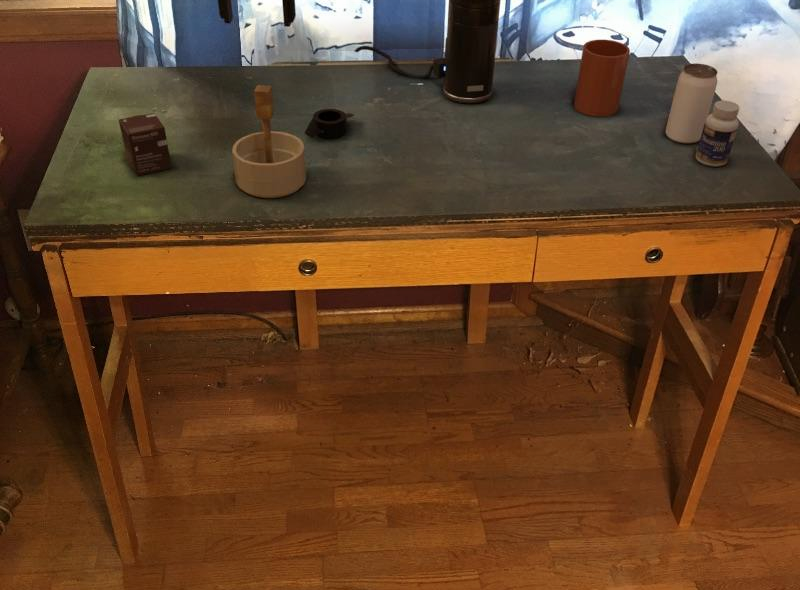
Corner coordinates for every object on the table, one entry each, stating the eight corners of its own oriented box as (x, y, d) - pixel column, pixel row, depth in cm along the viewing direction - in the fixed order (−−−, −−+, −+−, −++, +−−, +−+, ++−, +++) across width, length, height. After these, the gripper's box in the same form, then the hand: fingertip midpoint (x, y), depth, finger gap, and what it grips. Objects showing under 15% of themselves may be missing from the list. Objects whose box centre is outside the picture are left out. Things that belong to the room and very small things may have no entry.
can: (702, 146, 151) (721, 79, 143) (665, 142, 152) (681, 75, 143) (700, 130, 156) (718, 64, 147) (664, 126, 156) (680, 60, 148)
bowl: (228, 172, 141) (224, 138, 137) (293, 160, 145) (290, 126, 140) (248, 205, 134) (244, 170, 130) (315, 191, 137) (314, 157, 133)
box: (136, 176, 140) (127, 134, 134) (126, 160, 143) (117, 118, 138) (172, 168, 142) (165, 126, 137) (162, 153, 146) (154, 111, 140)
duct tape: (298, 125, 154) (297, 109, 152) (352, 119, 156) (352, 103, 154) (306, 144, 149) (305, 129, 147) (362, 138, 151) (362, 122, 149)
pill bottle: (690, 161, 147) (705, 107, 140) (701, 149, 150) (716, 95, 143) (721, 170, 145) (737, 115, 138) (731, 158, 148) (748, 104, 141)
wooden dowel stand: (256, 183, 137) (246, 93, 127) (261, 171, 140) (252, 81, 130) (280, 185, 137) (273, 94, 127) (286, 173, 140) (278, 83, 130)
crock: (565, 101, 163) (574, 43, 156) (602, 94, 166) (612, 36, 158) (589, 119, 158) (599, 60, 150) (626, 112, 160) (639, 53, 153)
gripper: (306, -111, 113) (312, 16, 124) (200, -116, 114) (215, 11, 125) (295, -96, 107) (303, 36, 119) (184, -102, 108) (202, 30, 119)
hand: (258, 23), depth 122 cm, fingers open, 8 cm apart
